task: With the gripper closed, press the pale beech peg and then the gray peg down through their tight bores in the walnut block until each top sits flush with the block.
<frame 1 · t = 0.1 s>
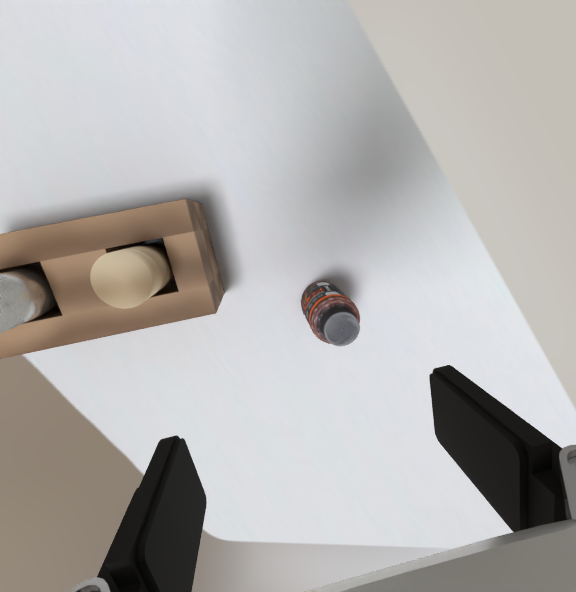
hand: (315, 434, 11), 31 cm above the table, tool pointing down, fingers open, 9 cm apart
walnut block: (122, 268, 38), on the table
supplement bottle: (320, 300, 43), on the table
gray peg: (18, 296, 29), point 9 cm above the table, slide at 0.0 cm
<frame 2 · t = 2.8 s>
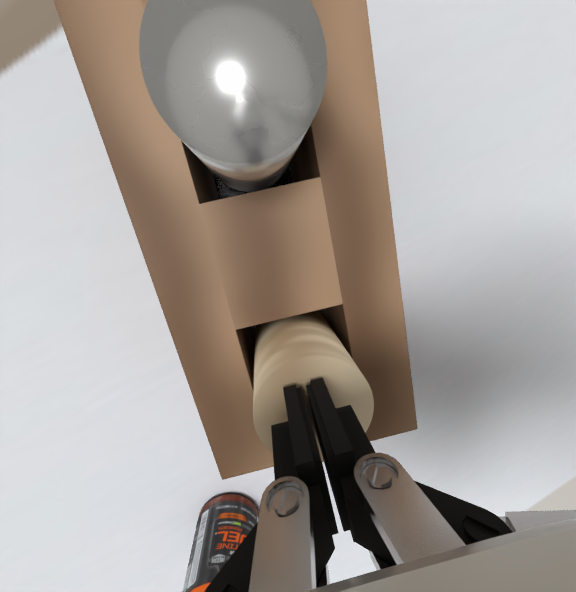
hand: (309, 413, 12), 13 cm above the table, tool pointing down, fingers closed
walnut block: (269, 243, 23), on the table
supplement bottle: (229, 512, 29), on the table
gray peg: (244, 118, 12), point 9 cm above the table, slide at 0.0 cm
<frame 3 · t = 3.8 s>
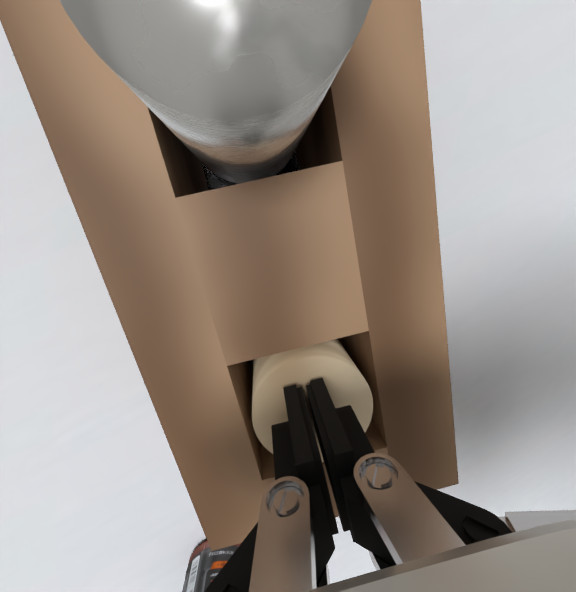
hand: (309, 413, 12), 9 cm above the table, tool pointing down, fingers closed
walnut block: (270, 247, 19), on the table
supplement bottle: (224, 554, 26), on the table
gray peg: (236, 74, 9), point 9 cm above the table, slide at 0.0 cm
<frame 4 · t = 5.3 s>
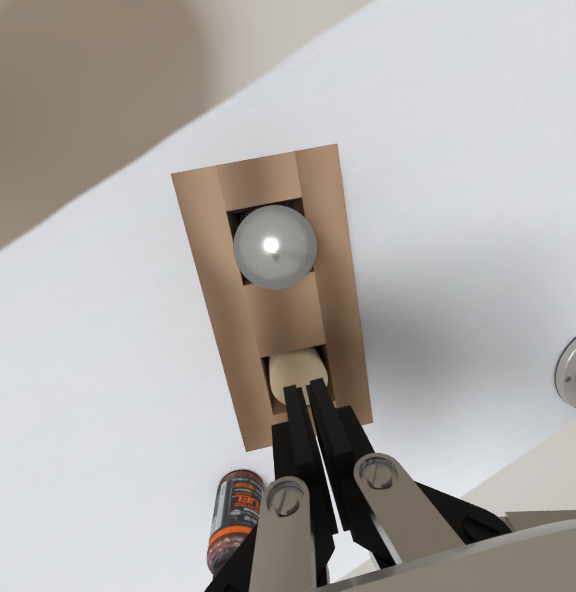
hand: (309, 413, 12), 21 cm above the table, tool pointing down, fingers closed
walnut block: (278, 290, 33), on the table
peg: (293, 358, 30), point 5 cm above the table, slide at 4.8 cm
supplement bottle: (240, 485, 39), on the table
gray peg: (272, 243, 22), point 10 cm above the table, slide at 0.0 cm
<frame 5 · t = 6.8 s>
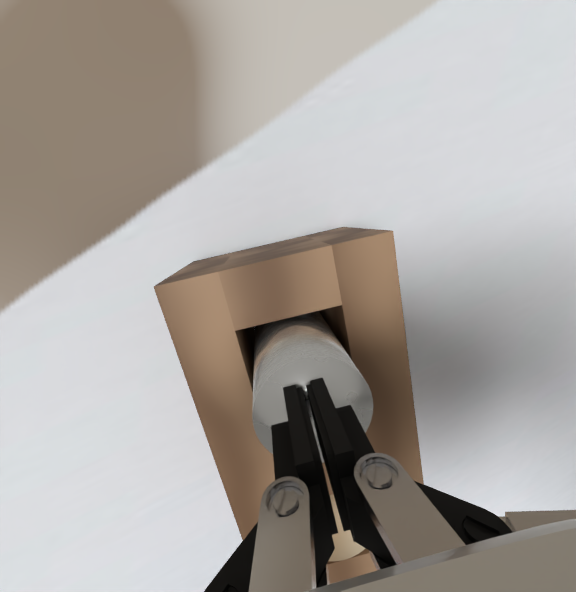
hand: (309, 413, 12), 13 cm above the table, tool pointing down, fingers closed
walnut block: (299, 377, 26), on the table
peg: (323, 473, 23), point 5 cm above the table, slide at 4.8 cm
gray peg: (299, 362, 16), point 9 cm above the table, slide at 0.9 cm, touching gripper
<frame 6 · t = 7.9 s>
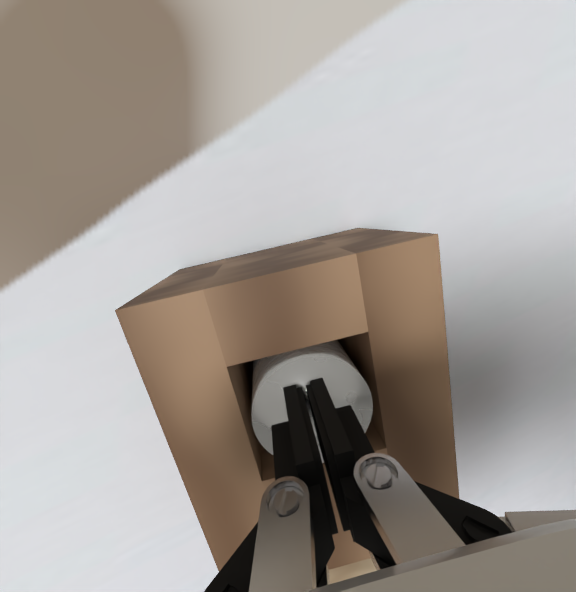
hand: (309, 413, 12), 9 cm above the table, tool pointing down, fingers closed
walnut block: (306, 402, 22), on the table
gray peg: (298, 362, 16), point 5 cm above the table, slide at 4.8 cm, touching gripper
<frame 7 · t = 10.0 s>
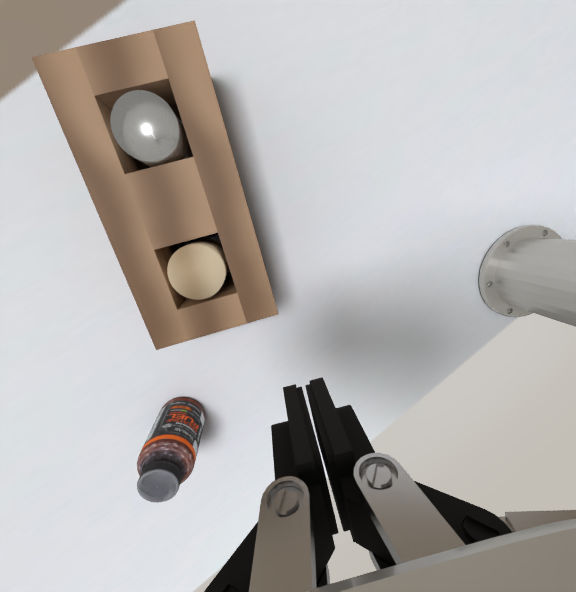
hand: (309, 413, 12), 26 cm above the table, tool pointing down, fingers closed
walnut block: (192, 208, 33), on the table
supplement bottle: (183, 413, 40), on the table
gray peg: (161, 141, 27), point 5 cm above the table, slide at 4.8 cm
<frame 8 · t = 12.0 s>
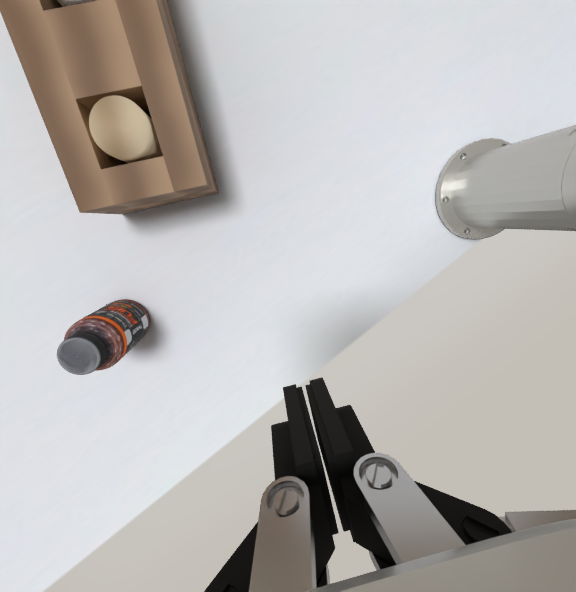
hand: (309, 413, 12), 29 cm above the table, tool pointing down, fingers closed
walnut block: (136, 94, 33), on the table
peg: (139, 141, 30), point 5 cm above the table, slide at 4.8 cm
supplement bottle: (128, 318, 40), on the table
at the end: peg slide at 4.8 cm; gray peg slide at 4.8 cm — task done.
